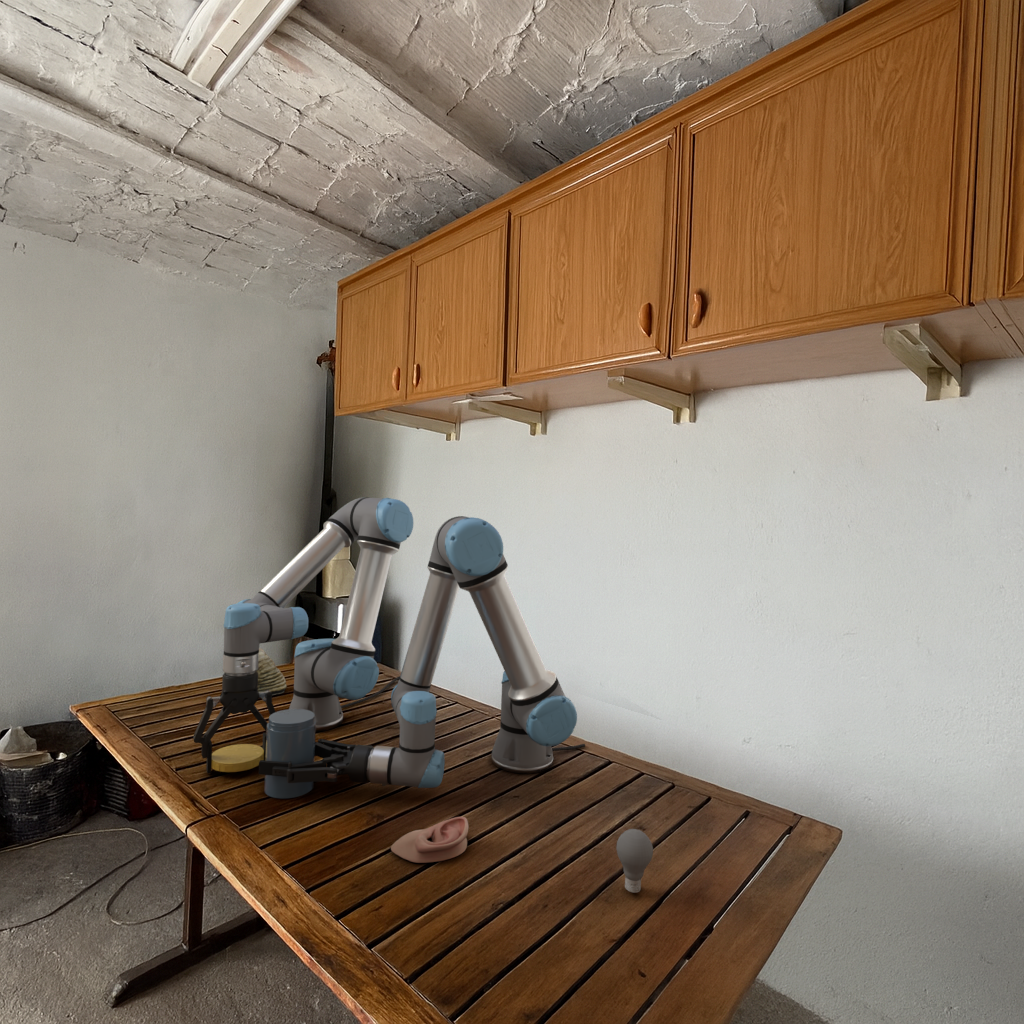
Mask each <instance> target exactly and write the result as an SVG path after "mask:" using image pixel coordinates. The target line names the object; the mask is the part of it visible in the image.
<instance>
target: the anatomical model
mask: <svg viewBox="0 0 1024 1024" xmlns="http://www.w3.org/2000/svg"><path fill="white" fill-rule="evenodd" d="M468 833H469V821H468V819H467V817H465V816H455V817H452V818H448V819H445V820H443V821H440V822H438V823H436V824H434V825H431V826H429V827H427V828H424V829H416V830H413V831H410V832H408V833H406V834H404V835H402V836H401V837H399V838H398V839H397V840H396V841H394V843H393V844H392V845H391V847H390V851H391V852H392V853H393V854H395V855H396V856H398V857H400V858H401V859H404V860H407V861H408V862H411V863H417V864H427V863H434V862H442V861H446V860H450V859H454V858H455V857H458V856H460V855H462V854H463V853H464V852H465V851H466V849H467V847H468V838H467V836H468Z"/></svg>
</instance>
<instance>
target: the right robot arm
mask: <svg viewBox="0 0 1024 1024" xmlns="http://www.w3.org/2000/svg"><path fill="white" fill-rule="evenodd" d="M508 569H509V564H508V562H507V560H506V558H505V554H504V542H503V537H502V536H501V535H500V532H499V531H498V530H497V528H495V526H493V525H492V524H491V523H490V522H488V521H487V520H485V519H482V518H480V517H471V516H470V517H469V516H463V515H458V516H454V517H451V518H448V519H447V520H446V521H444V522H443V523H442V524H441V525H440V527H439V528H438V530H437V531H436V534H435V536H434V540H433V544H432V549H431V553H430V557H429V561H428V564H427V570H428V572H429V576H428V579H427V582H426V586H425V589H424V592H423V596H422V599H421V604H420V605H419V606H420V607H419V610H418V614H417V616H416V620H415V624H414V628H413V630H412V635H411V637H410V641H409V644H408V647H407V651H406V655H405V658H404V662H403V665H402V669H401V671H400V675H399V676H400V679H398V681H397V684H396V685H395V686H394V687H393V689H392V691H391V695H390V702H391V707H392V710H393V711H394V714H395V716H396V718H397V721H398V724H399V742H398V743H399V744H398V747H397V746H385V745H375V746H373V745H370V744H369V745H367V744H348V743H344V742H343V743H342V742H339V741H333V740H328V739H325V738H319V739H317V741H315V757H318V758H321V760H316V761H314V762H308V763H301V764H294V765H292V762H291V761H290V762H278V761H264V760H260V761H259V765H258V775H259V776H260V775H261V776H265V775H271V776H284V777H287V782H288V783H300V782H314V783H315V782H329V783H336V782H337V781H338V777H339V776H343V775H347V776H348V777H349V780H350V782H352V783H358V784H368V783H370V784H374V785H381V786H383V787H385V786H388V785H389V786H400V787H411V788H417V789H433V788H434V789H435V788H438V787H439V786H440V785H442V782H443V777H444V774H445V762H446V760H445V752H444V751H443V750H439V749H436V746H435V739H436V723H437V722H436V721H437V713H438V709H437V697H436V696H435V694H433V693H432V692H430V690H431V688H432V683H433V679H434V675H435V673H436V670H437V665H438V662H439V659H440V655H441V652H442V649H443V646H444V643H445V642H444V641H445V638H446V634H447V632H448V628H449V624H450V622H451V618H452V614H453V611H454V608H455V604H456V602H457V597H458V595H459V594H458V593H459V590H462V591H463V590H464V591H465V592H468V593H469V595H470V597H471V599H472V601H473V604H474V606H475V608H476V611H477V612H478V615H479V617H480V619H481V622H482V624H483V626H484V628H485V630H486V632H487V635H488V637H489V639H490V641H491V644H492V646H493V649H494V650H495V652H496V655H497V657H498V659H499V661H500V663H501V666H502V668H503V670H504V671H503V672H502V680H501V682H500V683H501V698H500V699H501V701H500V702H501V703H500V725H499V731H498V733H497V736H496V739H495V741H494V744H493V747H492V749H491V762H492V764H493V765H494V766H495V767H497V768H499V769H501V770H504V771H507V772H510V773H514V774H535V773H542V772H544V771H546V770H549V769H550V768H551V767H552V766H553V764H554V752H560V751H572V750H578V749H582V748H585V747H586V744H585V743H581V744H577V745H572V746H560V747H555V746H558V745H560V744H563V743H564V742H565V741H567V740H568V739H569V738H570V737H571V735H572V734H573V732H574V730H575V728H576V726H577V722H578V712H577V709H576V706H575V705H574V702H572V700H571V699H570V698H569V697H567V696H566V694H565V693H564V690H563V688H562V686H561V684H560V681H559V679H558V676H557V675H556V673H555V672H554V671H553V670H550V669H547V668H546V665H545V663H544V662H543V659H542V656H541V655H540V653H539V650H538V648H537V646H536V643H535V640H534V639H533V637H532V633H531V632H530V629H529V627H528V625H527V623H526V621H525V619H524V615H523V613H522V611H521V609H520V606H519V605H518V602H517V600H516V598H515V595H514V593H513V591H512V588H511V586H510V583H509V582H508V579H507V577H506V575H507V574H506V573H507V571H508Z"/></svg>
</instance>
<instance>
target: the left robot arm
mask: <svg viewBox="0 0 1024 1024" xmlns="http://www.w3.org/2000/svg"><path fill="white" fill-rule="evenodd" d="M413 529H414V516H413V513H412V512H411V509H410V507H409V506H408V504H407V503H406V502H404V501H402V500H401V499H397V498H396V499H395V498H391V497H370V496H363V497H358V498H355V499H353V500H351V501H349V502H348V503H345V504H344V505H343V506H342V507H340V508H338V510H336V512H334V513H333V514H332V515H331V516H330V517H329V518H328V519H327V520H326V521H325V522H323V529H322V530H321V531H320V532H319V533H317V535H316V536H314V537H313V538H312V539H311V540H310V542H308V543H307V544H306V545H305V546H304V547H303V548H302V549H301V550H300V551H299V552H298V553H297V554H295V556H294V557H293V558H292V559H291V560H290V561H289V562H288V563H287V564H286V565H285V566H284V567H283V568H282V569H281V570H279V572H278V573H277V574H275V575H274V577H272V578H271V579H270V580H269V581H268V582H267V583H266V584H265V585H264V586H263V587H262V588H261V589H260V590H259V591H258V592H257V593H256V594H255V595H254V596H253V597H252V598H247V599H242V600H240V601H238V602H237V603H233V604H230V605H228V606H227V607H226V609H225V614H224V622H223V632H224V633H223V653H222V654H223V655H222V656H223V657H222V672H223V674H222V679H221V680H222V681H221V694H220V695H219V696H213V697H212V696H211V695H208V696H207V697H206V698H205V707H204V710H203V711H202V715H201V717H200V719H199V722H198V723H197V726H196V729H195V732H194V733H193V735H192V739H193V743H194V744H201V757H202V759H206V763H205V764H206V766H205V767H206V768H205V770H206V773H207V774H209V775H210V774H212V768H211V762H212V753H213V743H212V738H213V737H214V736H215V735H216V733H217V732H218V730H219V729H220V728H221V726H222V725H223V723H224V722H225V720H226V719H227V718H228V717H229V716H230V715H231V714H232V715H237V714H240V713H242V714H245V713H248V712H250V713H251V714H252V716H253V717H254V718H255V719H256V720H257V722H258V723H259V724H260V725H261V727H262V728H263V730H264V731H265V732H262V746H261V747H262V748H263V750H264V761H265V759H266V732H267V724H268V723H269V722H268V721H267V720H266V719H265V717H264V716H263V714H262V713H261V712H260V711H259V710H258V708H257V707H256V705H255V704H256V703H257V701H258V700H259V699H261V700H262V701H263V702H265V705H266V708H267V710H268V713H269V716H270V715H271V714H273V713H275V712H276V709H275V707H274V704H273V695H272V693H271V692H270V690H266V691H265V692H258V672H257V671H256V670H258V661H259V648H260V644H266V643H273V642H279V641H288V640H293V639H297V638H301V637H303V636H304V635H306V633H307V632H308V629H309V617H308V614H307V611H306V610H305V609H304V608H302V607H300V606H295V607H294V606H290V607H286V606H287V605H288V604H289V603H291V601H293V600H294V598H295V597H297V595H299V594H300V593H301V591H302V590H304V588H306V587H307V585H308V584H309V583H310V582H311V581H312V580H313V579H314V578H315V577H316V576H317V575H318V574H319V573H320V572H321V571H322V570H323V569H324V568H325V567H326V566H327V565H328V564H329V563H330V562H331V561H332V560H333V559H334V558H335V557H336V556H337V554H339V553H340V552H341V550H343V549H344V548H350V547H351V546H352V545H353V544H354V543H355V542H356V543H357V545H358V546H359V548H360V551H359V554H358V559H357V562H356V567H355V571H354V574H353V578H352V583H351V588H350V592H349V595H348V599H347V603H346V608H345V612H344V616H343V620H342V624H341V628H340V631H339V636H338V637H337V638H318V639H308V640H304V641H300V642H299V643H297V644H296V646H295V650H294V655H293V657H294V672H293V673H294V674H293V695H292V696H293V697H292V699H291V702H290V704H289V708H288V709H305V710H309V711H312V712H313V713H314V715H315V719H314V720H315V721H316V733H317V732H325V731H329V730H332V729H335V728H337V727H339V726H340V725H342V723H343V722H344V713H343V709H345V708H349V707H351V706H354V705H357V704H360V703H363V702H366V701H369V700H372V699H374V698H376V697H378V696H379V695H380V694H382V693H383V692H384V691H386V690H387V689H388V688H389V687H390V686H391V685H392V684H394V683H396V682H398V681H399V679H400V675H399V676H396V677H395V678H393V679H391V680H390V681H389V682H388V683H387V684H386V685H385V686H383V688H381V689H380V690H378V691H377V692H375V693H373V694H371V695H369V696H367V694H370V693H371V692H372V690H373V689H374V688H375V686H376V684H377V682H378V680H379V676H380V668H379V666H378V663H377V661H376V660H375V659H374V658H375V653H376V648H375V646H374V645H373V642H372V641H373V638H374V633H375V629H376V624H377V620H378V617H379V612H380V607H381V603H382V600H383V595H384V591H385V586H386V583H387V578H388V573H389V570H390V566H391V562H392V557H393V555H395V554H396V553H398V552H399V551H400V547H401V544H402V543H403V542H405V541H406V540H408V538H410V536H411V534H412V533H413V531H414V530H413ZM224 672H225V673H224ZM366 696H367V697H366ZM340 699H342V700H343V699H345V700H347V701H352V702H349V703H346V704H345V703H344V704H341V702H340ZM218 703H220V704H221V705H222V706H223V707H222V708H221V709H220V711H219V713H218V715H217V716H216V718H214V720H213V721H212V723H211V724H210V726H209V727H208V729H207V730H206V727H207V725H208V722H209V721H210V718H211V715H212V712H213V709H214V708H216V707H217V705H218ZM205 730H206V731H205ZM204 732H205V733H204Z"/></svg>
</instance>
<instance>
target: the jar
mask: <svg viewBox="0 0 1024 1024" xmlns="http://www.w3.org/2000/svg"><path fill="white" fill-rule="evenodd" d="M314 719H315V715H314V713H313V712H312V711H309V710H305V709H289V708H288V709H283V710H278V711H275V713H273V714H271V715H270V714H269V717H268V722H267V723H268V724H267V732H266V731H265V733H266V759H265V761H278V762H290V761H291V762H292V765H294V764H301V763H308V762H316V761H315V759H316V756H315V742H316V735H317V734H316V733H317V732H316V721H315V720H314ZM314 783H315V782H300V783H288V782H287V777H284V776H271V775H264V787H263V789H264V790H263V791H264V794H266V795H267V796H268V797H270V798H274V799H293V798H297V797H302V796H304V795H306V794H308V793H309V792H310V791H312V790H313V789H314Z"/></svg>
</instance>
